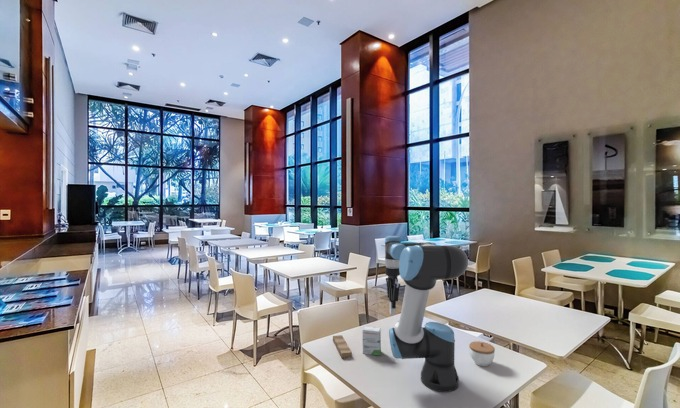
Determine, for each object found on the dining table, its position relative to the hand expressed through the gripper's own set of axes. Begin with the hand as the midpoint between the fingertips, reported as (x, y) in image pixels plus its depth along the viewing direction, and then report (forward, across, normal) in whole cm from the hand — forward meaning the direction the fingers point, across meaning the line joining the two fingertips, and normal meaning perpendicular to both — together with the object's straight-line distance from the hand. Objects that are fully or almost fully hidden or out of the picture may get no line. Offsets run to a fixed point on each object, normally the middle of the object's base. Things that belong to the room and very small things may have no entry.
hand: (392, 313), depth 161 cm
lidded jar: (+18, -22, -35) cm, 45 cm away
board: (+18, +7, +24) cm, 31 cm away
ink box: (+19, 0, +11) cm, 22 cm away
